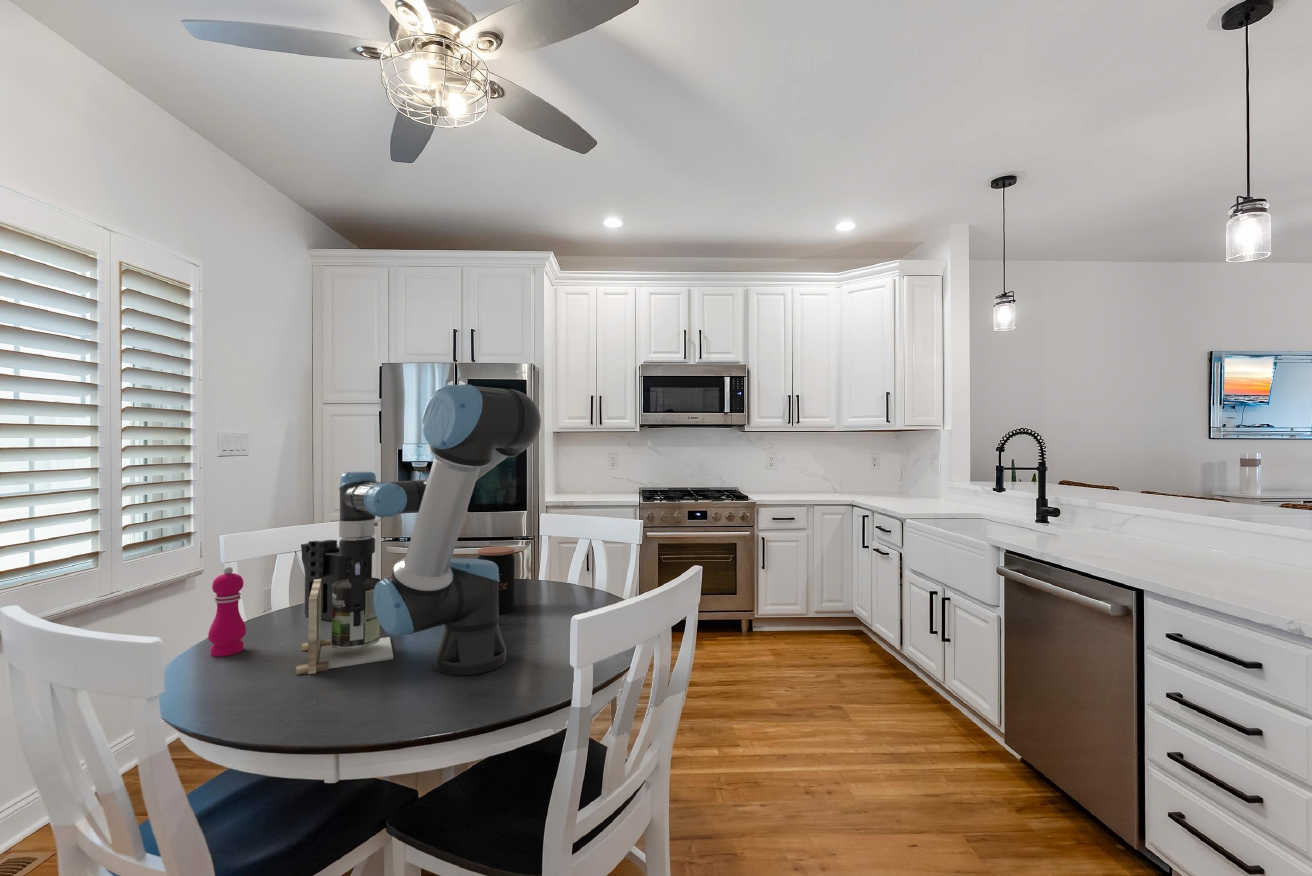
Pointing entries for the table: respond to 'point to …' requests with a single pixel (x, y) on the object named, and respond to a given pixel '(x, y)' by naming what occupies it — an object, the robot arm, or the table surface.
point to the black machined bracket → (326, 571)
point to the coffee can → (342, 618)
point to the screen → (314, 634)
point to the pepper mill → (227, 615)
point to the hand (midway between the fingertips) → (356, 632)
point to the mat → (357, 654)
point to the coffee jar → (502, 572)
